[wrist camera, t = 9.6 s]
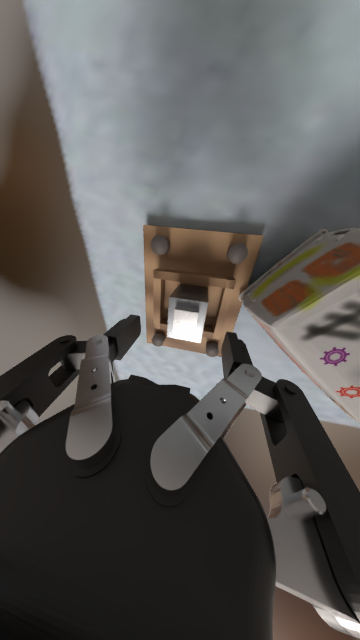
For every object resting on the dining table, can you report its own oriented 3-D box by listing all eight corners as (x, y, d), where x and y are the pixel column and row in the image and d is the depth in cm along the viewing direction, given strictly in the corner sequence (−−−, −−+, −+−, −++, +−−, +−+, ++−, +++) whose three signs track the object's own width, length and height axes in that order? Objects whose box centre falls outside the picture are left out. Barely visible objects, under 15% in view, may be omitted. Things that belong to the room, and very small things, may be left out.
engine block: (179, 283, 19) (166, 299, 13) (208, 287, 19) (208, 305, 13) (177, 315, 22) (165, 340, 16) (202, 319, 21) (200, 347, 15)
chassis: (147, 226, 18) (135, 222, 15) (260, 236, 16) (271, 234, 13) (149, 338, 26) (142, 349, 24) (223, 352, 25) (225, 366, 22)
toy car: (323, 388, 25) (386, 465, 16) (232, 293, 20) (250, 328, 11) (407, 360, 20) (563, 448, 11) (312, 226, 15) (453, 196, 6)
